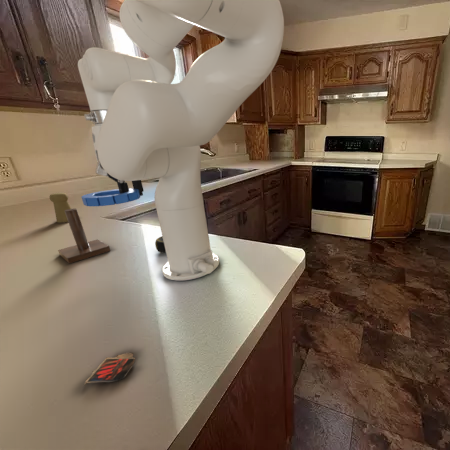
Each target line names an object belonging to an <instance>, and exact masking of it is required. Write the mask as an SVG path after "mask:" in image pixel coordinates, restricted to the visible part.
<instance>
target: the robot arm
mask: <svg viewBox="0 0 450 450" xmlns="http://www.w3.org/2000/svg"><path fill="white" fill-rule="evenodd" d="M119 21H120V24H121V26H122V29H123V31H124V33H125V34H126V36H127V38H129V39H130V41H131V42H132V43H133V44H134V45H135V46H136V47H137V48H138V49H139V50H140V51H142V52H143V53H144V54H146V55H147V56H148V57H146V58H144V57H140V56H136V55H132V54H128V53H124V52H121V51H120V52H119V51H115V50H111V49H106V48H102V47H89V48H87V49H86V50H85V52H84V54H83V55H82V57H81V58H80V59H79V60H78V61H77V68H78V72H79V76H80V79H81V83H82V86H83V89H84V93H85V97H86V99H87V103H88V107H89V110H90V111H89V113H84V114H83V116H84V117H83V118H84V119H85V121H89V122H92V124H93V126H91V135H92V137H91V138H92V144H93V149H94V154H95V159H96V162H97V163H96V167H95V174H96V175H99V176H103V177H107V178H109V179H110V180H113V181H114V182H115V183H116V184H117V189H119V192H120V194H121V193H125V192H128V191H129V189H130V188H129V185H128V182H131V184H132V189H138V190H139V193H140V197H142V196H144V194H143V192H144V186H143V182H142V181H143V180H150V179H157V178H159V179H158V182H157V184H156V187H155V189H154V197H153V198H154V205H155V210H156V214H157V218H158V219H157V220H158V223H159V227H160V232H161V236H162V237H163V241H164V245H165V250H166V253H165V254H166V259H167V262H166V263H165V264H164V265H163V267H162V268H161V271H162V275H163V277H164V278H165V279H168V280H172V281H189V280H190V281H191V280H195V279H199V278H201V277H204V276H206V275H209V274H211V273H212V272H214V271H215V270H216V269H217V268H218V267H219V265H220V257H219V255H217V254H216V253H214V252H213V250H212V249H211V243H210V242H211V241H210V237H209V230H208V224H207V218H206V212H205V204H204V197H203V190H202V181H201V178H202V177H201V166H202V152H201V146H203V145H206V144H207V143H209V142H211V141H212V140H213V139H214V137H215V136H216V135H217V134H218V133H219V132H220V131H221V129H222V128H223V127H224V126H225V125H226V124H227V123H228V121H229V120H230V119H231V118H232V117H233V116H234V114H235V113H236V112H237V110H238V109H239V108H240V107H241V105H242V104H243V103H245V101H246V100H247V99H248V98H249V97H250V96H251V95H252V94H253V93H254V92H255V91H256V90H257V89H258V88H259V87H260V86H261V85H262V84H263V83H264V82H265V80H266V79H267V78H268V77H269V75H270V74H271V72H272V71H273V69H274V68H275V66H276V64H277V63H278V60H279V58H280V57H279V56H280V54H281V51H282V46H283V42H284V35H285V18H284V13H283V8H282V4H281V2H280V0H123V2H122V4H121V5H120V7H119ZM195 26H196V27H199V28H201V29H204V30H206V31H209V32H212V33H213V34H216V35H219V36H221V37H224V39H223V40H222V42H221V41H220V43H219V44H217V45H215V46H213V47H211V48H209V49H207V50H206V51H204V52H203V53H201V54H200V55H199V56H198V57H197V58H196V59H195V60H194V62H193V63H192V65H191V66H190V68H189V70H188V72H187V73H186V75H185V76H184V77H183V78H182V79H181V81H179V82H177V83H173V80H175V76H176V68H177V61H176V59H177V58H176V55H175V51H174V49H175V48H176V47H177V46H178V45H179V44H180V42H181V41H182V40H183V39H184V38H185V37H186V35H187V34H188V33H189V32H190V31H191V30H192V29H193V27H195Z"/></svg>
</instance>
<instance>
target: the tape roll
mask: <svg viewBox="0 0 450 450" xmlns="http://www.w3.org/2000/svg"><path fill="white" fill-rule="evenodd" d="M140 198H141V196H140V193H139V190H138V189H134V188H129V191H128V192H125V193H121V194H120V192H119V188H117V189H108V190H101V191H94V192H91V193H86V194H83V195H82V196H81V201H82V203H83V206H86V207H107V206H113V205H114V206H115V205H121V204H127V203H131V202H133V201H137V200H139V199H140Z"/></svg>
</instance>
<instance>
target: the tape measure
mask: <svg viewBox="0 0 450 450" xmlns="http://www.w3.org/2000/svg"><path fill="white" fill-rule="evenodd" d="M154 244H155V245H154V246H155V249H156V250H157V252H158V253H160V254H161V253H162V254H166V250H165V245H164V241H163V237H162V235H161V236H159V237H158V238H156V240H155V242H154Z"/></svg>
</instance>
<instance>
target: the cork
mask: <svg viewBox="0 0 450 450" xmlns="http://www.w3.org/2000/svg"><path fill="white" fill-rule="evenodd" d="M49 200H50V201H51V202H52V203H53V208H54V209H53V210H54V213H55V219H56V223H58V224H59V223H69V222H68V219H67V217H66V214H65V210H68V209H73V208H72V206H71V204H70V203H69V201H68V200H69V195H68V194H67V193H66V192H54V193H51V194H49Z"/></svg>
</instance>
